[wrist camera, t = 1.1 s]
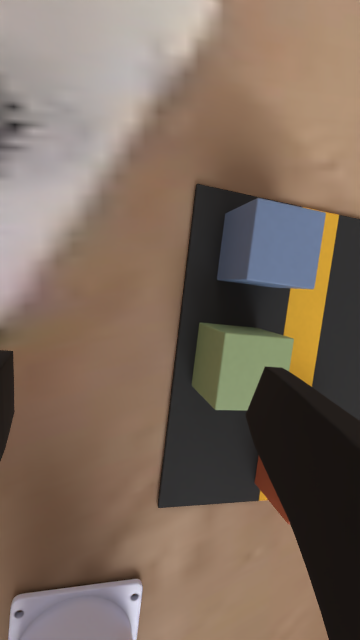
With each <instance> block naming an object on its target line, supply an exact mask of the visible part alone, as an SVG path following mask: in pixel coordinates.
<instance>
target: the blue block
mask: <svg viewBox="0 0 360 640" xmlns="http://www.w3.org/2000/svg"><path fill="white" fill-rule="evenodd" d="M325 216H326V213H325V212H321V211H317V210H312V209H307V208H303V207H298V206H294V205H289V204H284V203H280V202H275V201H271V200H266V199H261V198H257V199H255V200H253V201H251V202H248V203H246V204H244V205H242V206H240V207H238V208H236V209H234V210H232V211H230V212H228V213H226V214H225V220H224V227H223V235H222V243H221V251H220V258H219V266H218V274H217V280H220V281H228V282H235V283H243V284H250V285H258V286H265V287H273V288H294V289H314V287H315V281H316V274H317V268H318V261H319V255H320V249H321V242H322V236H323V229H324V223H325Z"/></svg>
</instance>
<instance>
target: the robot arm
mask: <svg viewBox="0 0 360 640" xmlns="http://www.w3.org/2000/svg"><path fill="white" fill-rule="evenodd" d="M13 415H14V369H13V351H3V350H0V461H1V458H2V455H3V453H4V450H5V447H6V443H7V439H8V435H9V432H10V428H11V423H12V419H13ZM245 416H246V419H247V423H248V426H249V430H250V433H251V436H252V439H253V442H254V445H255V448H256V450H257V452H258V454H259V457H260V459H261V461H262V463H263V465H264V468H265V470H266V472H267V474H268V476H269V479H270V481H271V483H272V485H273V487H274V489H275V491H276V494H277V496H278V498H279V500H280V502H281V504H282V507H283V509H284V511H285V513H286V515H287V517H288V520H289V522H290V525H291V527H292V529H293V532H294V534H295V537H296V540H297V543H298V545H299V548H300V551H301V554H302V557H303V559H304V562H305V565H306V568H307V571H308V574H309V577H310V580H311V583H312V586H313V589H314V592H315V595H316V598H317V601H318V605H319V608H320V611H321V614H322V617H323V621H324V624H325V628H326V631H327V634H328V638H329V640H360V421H359V420H358V419H357V418H355V417H354V416H352V415H351V414H349V413H348V412H346V411H345V410H344V409H342V408H341V407H339V406H338V405H336V404H335V403H334V402H332V401H331V400H329V399H328V398H327V397H325V396H324V395H322V394H321V393H320V392H318V391H317V390H315V389H314V388H313V387H311V386H310V385H308V384H307V383H305V382H304V381H303V380H301V379H300V378H298V377H297V376H295V375H294V374H292V373H291V372H289V371H287V370H286V369H284V368H282V367H265V368H264V370H263V373H262V375H261V378H260V380H259V383H258V385H257V387H256V390H255V392H254V395H253V397H252V400H251V402H250V405H249V407H248V410H247V412H246V415H245ZM142 590H143V587H142V582H141V580H139V579H130V580H122V581H114V582H107V583H99V584H92V585H84V586H77V587H69V588H61V589H54V590H46V591H39V592H31V593H24V594H19V595H17V596H15V597H14V599H13V600H12V604H11V610H10V623H9V635H8V640H137V632H138V624H139V615H140V607H141V598H142ZM133 594H135V595H133ZM19 610H22V611H21V612H17V611H19Z"/></svg>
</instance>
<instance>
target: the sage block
mask: <svg viewBox="0 0 360 640" xmlns="http://www.w3.org/2000/svg"><path fill="white" fill-rule="evenodd" d="M293 342H294V339H293V338H291V337H287V336H284V335H280V334H277V333H273V332H270V331H266V330H263V329H259V328H254V327H243V326H232V325H222V324H211V323H199V330H198V338H197V346H196V354H195V362H194V370H193V378H192V387H193V388H194V389H195V390H196V391H197V392H198V393H199V394H200V395H201V396H202V397H203V398H204V399H205V400H206V401H207V402H208V403H209V404H210V405H211V406H212V407H213V408H214V409H215V410H248V407H249V405H250V402H251V400H252V397H253V395H254V392H255V390H256V387H257V385H258V383H259V380H260V378H261V375H262V373H263V370H264V368H265V367H282V368H284V369H286V370H287V371H289V369H290V362H291V356H292V349H293Z"/></svg>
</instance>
